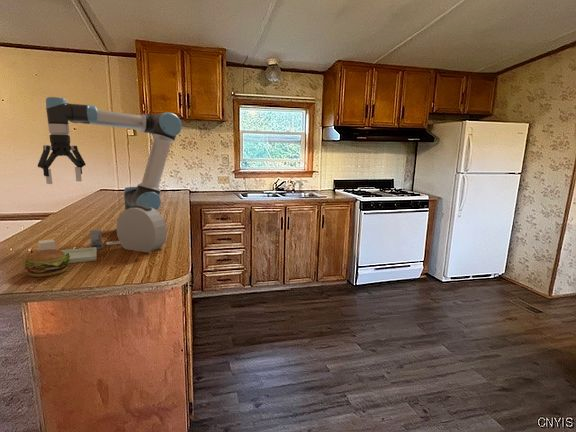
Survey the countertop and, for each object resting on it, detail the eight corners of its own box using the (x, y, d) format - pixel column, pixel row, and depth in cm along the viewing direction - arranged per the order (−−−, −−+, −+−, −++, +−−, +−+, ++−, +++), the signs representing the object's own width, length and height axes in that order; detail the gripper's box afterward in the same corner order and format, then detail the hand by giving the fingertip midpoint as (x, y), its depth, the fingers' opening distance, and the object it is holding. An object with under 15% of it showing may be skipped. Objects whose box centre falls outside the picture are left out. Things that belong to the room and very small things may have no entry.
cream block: (53, 250, 149) (52, 239, 148) (56, 253, 145) (55, 241, 144) (39, 252, 146) (38, 241, 145) (41, 255, 142) (40, 243, 141)
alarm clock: (167, 249, 156) (166, 205, 152) (156, 253, 149) (154, 208, 145) (129, 243, 162) (127, 202, 159) (117, 247, 155) (114, 204, 152)
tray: (96, 251, 150) (96, 247, 149) (96, 260, 137) (96, 256, 137) (57, 254, 143) (57, 250, 143) (54, 264, 131) (53, 260, 131)
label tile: (120, 241, 165) (120, 240, 165) (121, 243, 162) (121, 242, 162) (106, 242, 163) (106, 242, 163) (106, 244, 159) (106, 244, 159)
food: (18, 281, 114) (16, 258, 113) (30, 268, 127) (28, 247, 126) (67, 276, 120) (65, 254, 118) (73, 264, 133) (72, 244, 131)
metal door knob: (103, 246, 157) (102, 228, 156) (103, 249, 153) (102, 231, 151) (90, 247, 155) (88, 229, 153) (89, 250, 150) (88, 232, 149)
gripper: (80, 135, 165) (84, 179, 169) (23, 133, 143) (30, 184, 147) (91, 135, 162) (95, 180, 166) (35, 133, 140) (41, 185, 144)
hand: (64, 182), depth 157 cm, fingers open, 13 cm apart
